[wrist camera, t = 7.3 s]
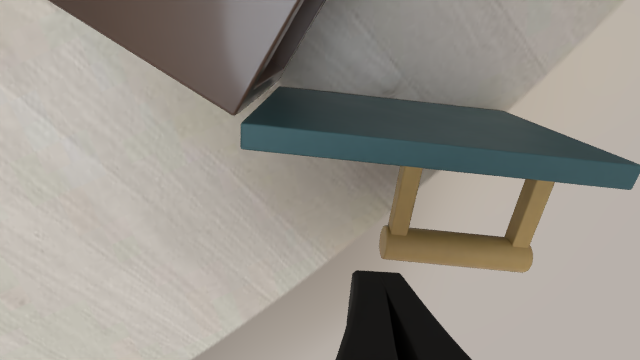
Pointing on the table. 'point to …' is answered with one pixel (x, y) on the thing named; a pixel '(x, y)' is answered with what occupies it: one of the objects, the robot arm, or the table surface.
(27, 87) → the table surface
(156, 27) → the cabinet
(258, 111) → the cabinet door
